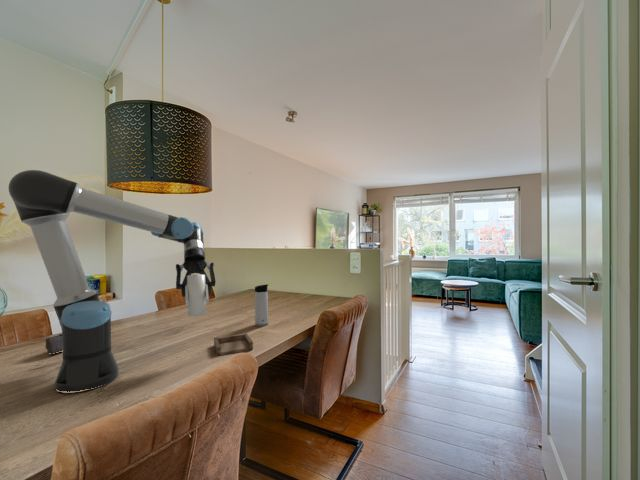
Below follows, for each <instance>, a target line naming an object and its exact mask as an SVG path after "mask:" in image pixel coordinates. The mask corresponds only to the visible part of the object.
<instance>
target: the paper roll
mask: <svg viewBox="0 0 640 480" xmlns="http://www.w3.org/2000/svg"><path fill="white" fill-rule="evenodd" d="M187 287H188V306H187V316H188V317H200V316H204V315H206V314H207V304H206V291H205V274H199V273H194V274H191V275H188V276H187Z"/></svg>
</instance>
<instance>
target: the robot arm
mask: <svg viewBox="0 0 640 480" xmlns="http://www.w3.org/2000/svg"><path fill="white" fill-rule="evenodd" d="M8 183H9V184H8V192H9V195H10V197H11V199H12V201H13V204H14V206H15V208H16V210H17V214H18V217H19V219H20V221H21V223H23V224H25V225H28V226H29V227H30V229H31V232H32V235H33V237H34V239H35V242H36V245H37V249H38V250H39V253H40V255H41V258H42V259H41V260H42V261H43V264H44V266H45V269H46V272H47V275H48V277H49V279H50V282H51V284H52V288H53V290H54V294H55V295H56V300H55V302H53V305H52V306H53V309H54V312H55V314H56V316H57V319H58V323H59V325H60V328H61V334H62V344H63V352H62V362H61V366H60V368H59V371H58V373H57V377H56V378H55V382H54V388H56V389H57V390H59V391H67V392H68V391H69V392H70V391H80V390H85V389H91V388H95V387H98V386H101V385H104V384H106V385H108V384H110V383H111V381H112V382H113V381H115V380H116V379H117V378H118V377H117V376H119V366H118V364H117V360H116V359H115V357H114V354H113V352H112V326H111V325H112V322H111V321H112V320H111V318H112V310H111V306H110V303H108V302H107V301H104V300H102V301H101V299H100V297H99V294H98V292H97V291H96V290H94V289H91V288H90V287H89V284H88V280H87V277H86V274H85V272H84V269H83V267H82V266H83V265H82V263H81V261H80V258H79V255H78V252H77V250H76V247H75V246H76V245H75V244H74V240H73V238H72V235H71V232H70V229H69V227H68V224H67V218H68V217H69V215H70V213H77V214H81V215H85V216H89V217H92V218H97V219H100V220H104V221H109V222H112V223H116V224H119V225H123V226H126V227H131V228H135V229H138V230H143V231H147V232H150V233H151V235H152V236H155V237H157V238H162V239H165V240H169V241H173V242H177V243H181V244H183V263H182V264H179V263H177V264H175V270H176V279H175V280H176V281H175V289H176V290H181V297H182V298H184V297H185V306H186V307H188V287H187V276H188V275H195V274H205V291H206V305H207V304H209V299H210V298H209V295H212V287H216V282H217V281H216V276H215V272H214V267H215V263H214V262H211V263H208V262H207V261H206V254H205V246H204V231H203V228H202V226H201V224H200V223H197V222H196V221H195V222H194V221H191V220H190V219H189V218H186V217H181V216H180V217H178V216H174V215H172V214H168V213H165V212H161V211H158V210H155V209H152V208H149V207H147V206H146V207H145V206H141V205H139V204H136V203H135V204H134V203H132V202H128V201H125V200H123V199H120V198H119V199H118V198H116V197H113V196H109V195H106V194H102V193H101V192H96V191H94V190H89V189H86V188H83V187H81V186H80V183H79V182H75V181H72V180H68V179H66V178H64V177H61V176H59V175H56V174H52V173H50V172H47V171H44V170H37V169H29V170H24V171H20V172H18V173H17V174H15V175H14V176H13V177H12V178H11V179H10V181H9V182H8ZM206 268H207V269H208V270H209V271H208V272H209V276H208V275H207V273H206V271H205V269H206ZM183 269H185V271H186V272H185V275H184V277H183V281H182V282H181V279H182V278H181V277H182V273H181V272H182V271H183ZM209 277H210V279H209ZM116 377H117V378H116ZM115 378H116V379H115ZM114 379H115V380H114ZM109 382H110V383H109ZM107 383H108V384H107ZM104 386H105V385H104ZM101 387H102V386H101ZM98 388H99V387H98Z"/></svg>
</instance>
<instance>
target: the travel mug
mask: <svg viewBox="0 0 640 480" xmlns="http://www.w3.org/2000/svg"><path fill="white" fill-rule="evenodd" d="M268 286H269V284H261V285H256V286H254V310H255V311H254V319H255V320H254V321H255V323H254V325H255V326H256V327H266V326H268V325H269V301H268V300H269V297H268V295H269V293H268Z"/></svg>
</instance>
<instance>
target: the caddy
mask: <svg viewBox="0 0 640 480" xmlns="http://www.w3.org/2000/svg"><path fill="white" fill-rule="evenodd" d="M213 347H214V350H215V353H216V356H217V357H219V356H224V355H231V354H236V353H242V352H248V351H247V350H249V351H253V350H254V341H253V340H252V339H251V338H250V336H249V335H248V333H240V334H233V335H232V334H231V335H226V336H219V337H214V338H213ZM252 349H253V350H252ZM240 351H241V352H240Z"/></svg>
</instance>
